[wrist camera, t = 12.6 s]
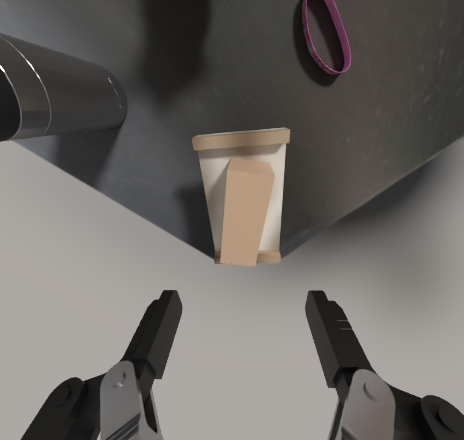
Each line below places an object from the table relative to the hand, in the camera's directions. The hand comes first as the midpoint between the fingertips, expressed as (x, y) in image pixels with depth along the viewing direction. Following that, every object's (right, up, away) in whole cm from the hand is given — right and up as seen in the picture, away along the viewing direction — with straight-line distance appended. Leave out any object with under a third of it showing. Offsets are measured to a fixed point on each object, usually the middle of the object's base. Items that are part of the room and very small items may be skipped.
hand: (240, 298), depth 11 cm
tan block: (+1, +7, +13) cm, 15 cm away
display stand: (+2, +14, +25) cm, 28 cm away
